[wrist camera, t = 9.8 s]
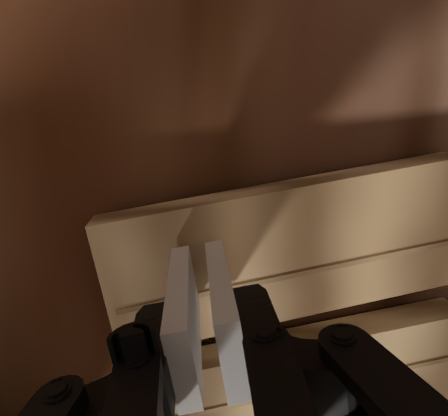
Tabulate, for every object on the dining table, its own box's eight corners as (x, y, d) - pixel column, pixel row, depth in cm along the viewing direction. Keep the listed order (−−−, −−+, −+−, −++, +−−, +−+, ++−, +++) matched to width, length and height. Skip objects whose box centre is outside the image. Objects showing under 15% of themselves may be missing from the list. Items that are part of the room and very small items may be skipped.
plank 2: (156, 453, 22) (154, 487, 20) (133, 360, 21) (128, 387, 19) (442, 389, 24) (467, 415, 22) (442, 296, 22) (469, 315, 20)
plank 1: (123, 333, 20) (118, 359, 18) (93, 215, 18) (84, 227, 16) (442, 265, 21) (471, 280, 19) (442, 151, 20) (473, 155, 18)
